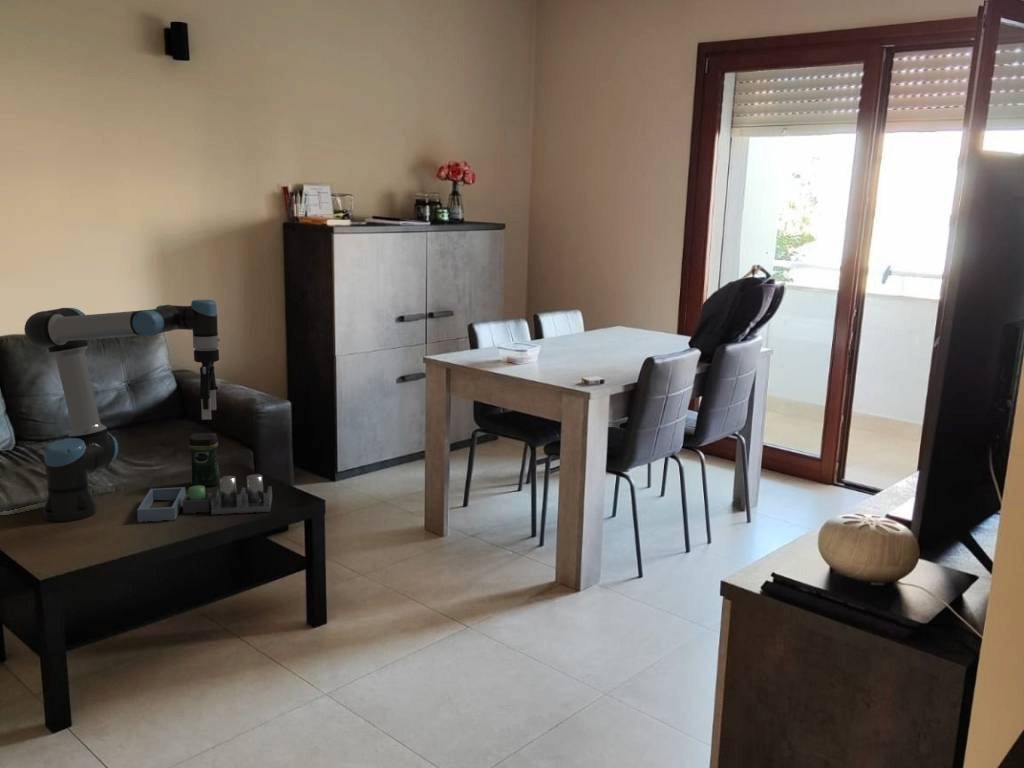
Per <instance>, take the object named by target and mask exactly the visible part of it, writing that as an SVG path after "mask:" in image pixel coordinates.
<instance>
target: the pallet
mask: <svg viewBox="0 0 1024 768" xmlns="http://www.w3.org/2000/svg"><path fill="white" fill-rule="evenodd" d="M246 492H247V491H246V487H241V490H240V493H239V494H237V502H235V503H231V504H223V503H221V494H220V488H215V490H214V492H213V494H212V499H211V509H210V512H211V516H218V515H217V514H221V515H234V514H233V513H238V514H255V513H254V512H256V513H268V512H269V513H270V512H271V507H272V502H273V488H272V486H271V485H269V486H267V491H266V492H263V494H264V500H263V501H260V502H249V501H248V493H246ZM230 513H231V514H230ZM214 514H215V515H214Z"/></svg>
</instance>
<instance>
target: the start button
mask: <svg viewBox="0 0 1024 768" xmlns="http://www.w3.org/2000/svg"><path fill="white" fill-rule="evenodd" d="M205 493H206V486H193V485H192V486H190V487H188V494H189V500H206V497H205Z"/></svg>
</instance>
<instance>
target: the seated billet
mask: <svg viewBox="0 0 1024 768" xmlns="http://www.w3.org/2000/svg"><path fill="white" fill-rule="evenodd" d="M219 495H221V503H223V504H231V503H235V502H237V495H238V494H237V477H236V476H235V475H224V476H220V482H219Z"/></svg>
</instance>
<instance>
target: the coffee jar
mask: <svg viewBox="0 0 1024 768" xmlns="http://www.w3.org/2000/svg"><path fill="white" fill-rule="evenodd" d="M218 441H219V440H218V435H217V433H215V432H212V433H210V432H209V433H208V432H203V433H199V432H198V433H193V434H191V435H190V436H189V439H188V448H189V450H190V455H191V472H190V473H191V475H190V476H191V477H190V480H191V481H190V482H191V485H192V486H205V487H212V486H215V485H220V478H221V474H220V468H219V462H218V455H217V453H218V452H217V450H218V446H219V442H218Z"/></svg>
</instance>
